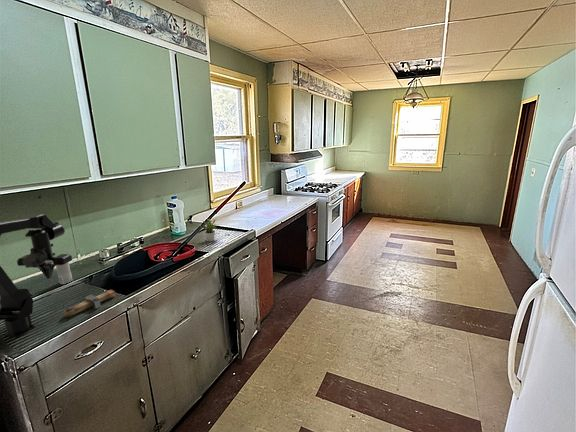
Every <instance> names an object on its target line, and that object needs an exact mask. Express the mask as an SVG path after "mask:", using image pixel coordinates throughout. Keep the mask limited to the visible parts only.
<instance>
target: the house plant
mask: <svg viewBox="0 0 576 432" xmlns="http://www.w3.org/2000/svg"><path fill="white" fill-rule="evenodd" d="M217 219H218V217H216V218H214V219H213V220H212V219H210V218H209V219H208V218H207V220H206V219H204V220H202V219H200V221H201V222H203V223H205V222H206V223H205V225H203V227H201V225H202V224H199V226H200V227H201V229H204V230H205V231H204V237H205V239H206V241H207V242H213V241H215V237H216V236H215V235H216V231H215V230H214V229H215V228H217V225H215V224H216V221H217ZM217 229H218V228H217Z"/></svg>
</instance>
